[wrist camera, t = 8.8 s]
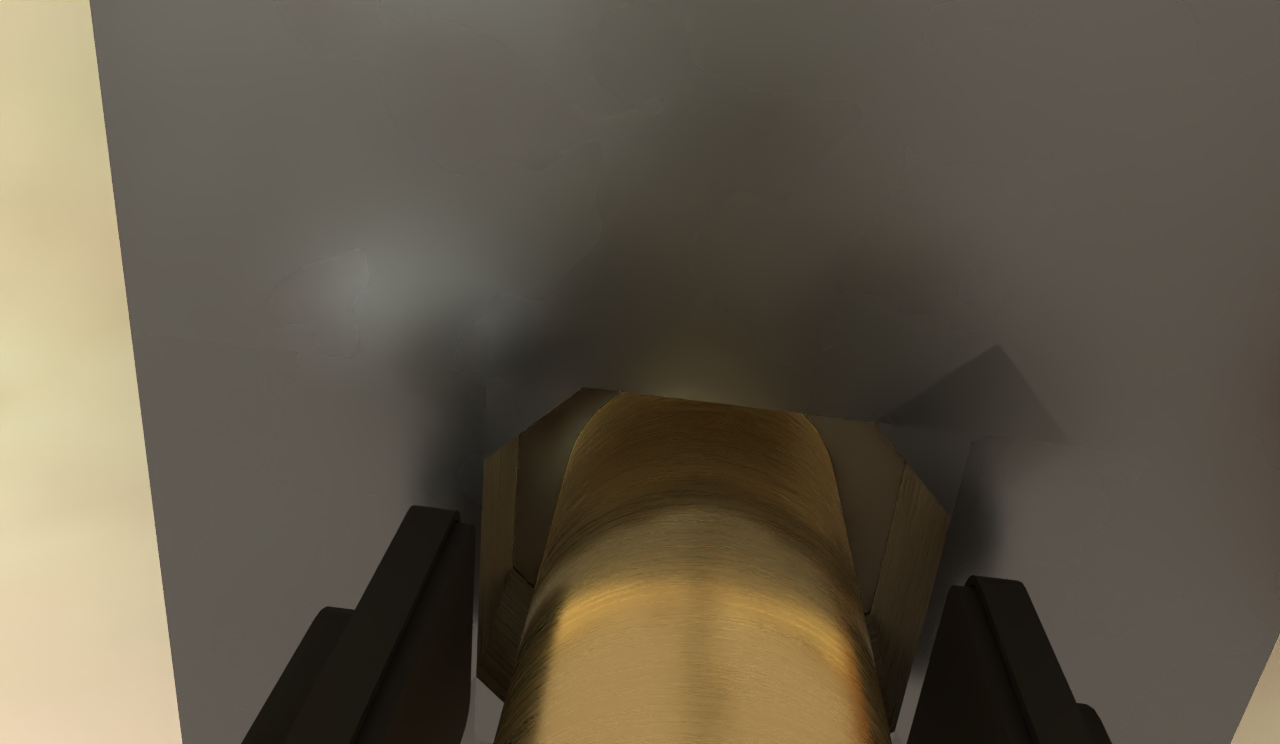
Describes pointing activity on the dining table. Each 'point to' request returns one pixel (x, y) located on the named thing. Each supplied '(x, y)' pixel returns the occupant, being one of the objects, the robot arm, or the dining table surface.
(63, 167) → the dining table surface
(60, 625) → the dining table surface
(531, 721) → the brass cylinder peg
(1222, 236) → the jig
